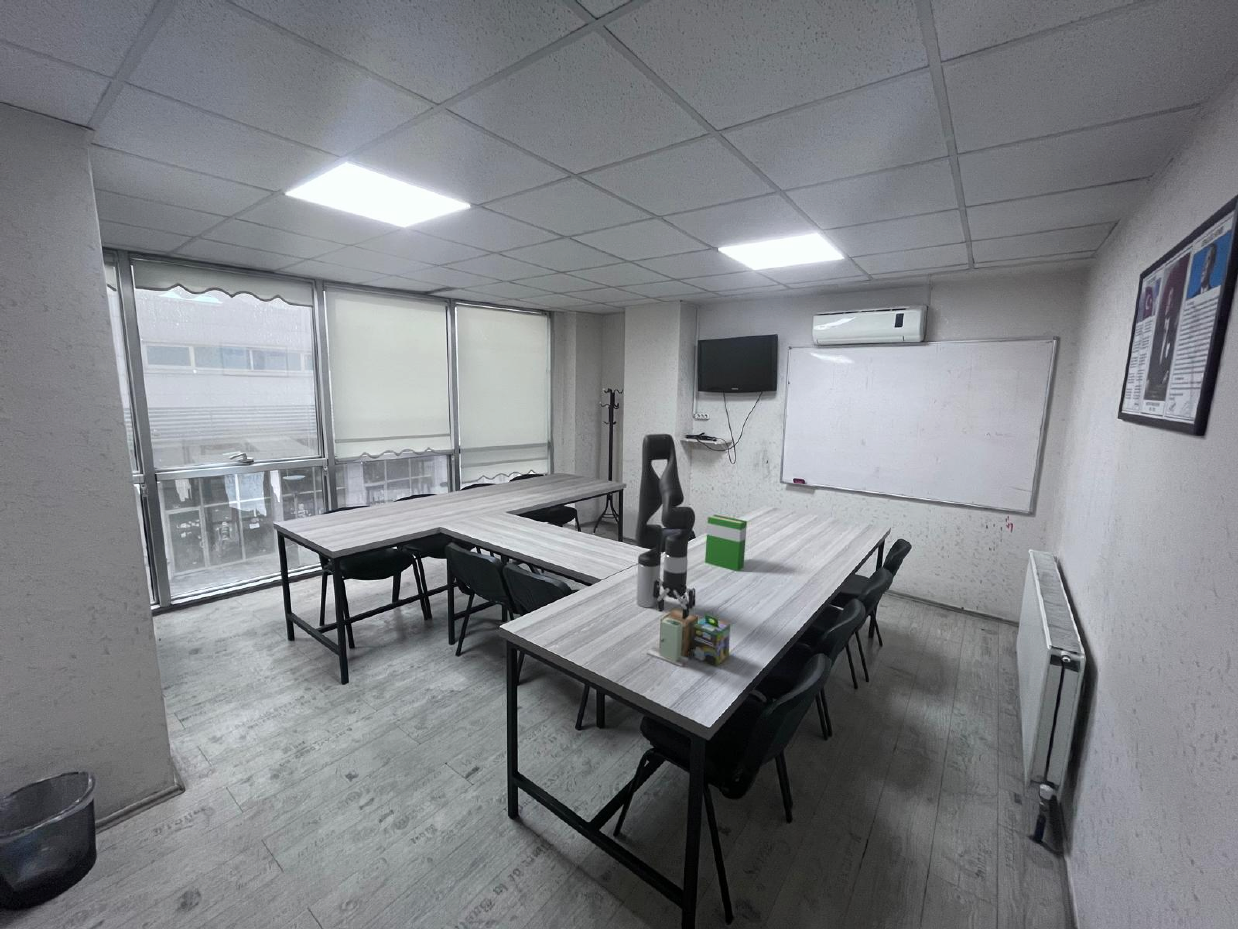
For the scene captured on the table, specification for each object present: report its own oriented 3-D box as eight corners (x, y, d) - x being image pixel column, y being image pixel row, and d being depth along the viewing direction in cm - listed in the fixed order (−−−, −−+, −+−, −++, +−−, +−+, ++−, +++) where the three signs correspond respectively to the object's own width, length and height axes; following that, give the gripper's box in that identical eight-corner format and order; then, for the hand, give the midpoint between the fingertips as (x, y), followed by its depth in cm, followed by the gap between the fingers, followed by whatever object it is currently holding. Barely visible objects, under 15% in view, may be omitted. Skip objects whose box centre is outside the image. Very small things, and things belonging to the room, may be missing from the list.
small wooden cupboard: (668, 636, 177) (669, 607, 176) (701, 647, 170) (703, 617, 168) (646, 654, 165) (648, 623, 163) (681, 667, 158) (683, 635, 156)
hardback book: (705, 562, 253) (707, 517, 249) (711, 559, 258) (714, 514, 255) (737, 571, 242) (740, 524, 238) (743, 567, 248) (747, 521, 244)
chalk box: (729, 656, 165) (732, 614, 163) (715, 667, 158) (718, 624, 156) (705, 646, 171) (707, 606, 169) (691, 657, 164) (693, 615, 162)
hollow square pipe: (664, 650, 166) (666, 617, 164) (680, 656, 163) (682, 622, 161) (658, 656, 163) (660, 622, 161) (674, 662, 159) (676, 627, 157)
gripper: (700, 569, 157) (697, 616, 160) (661, 559, 165) (659, 604, 168) (690, 576, 151) (687, 626, 154) (650, 565, 159) (648, 612, 162)
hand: (672, 614), depth 161 cm, fingers open, 8 cm apart
